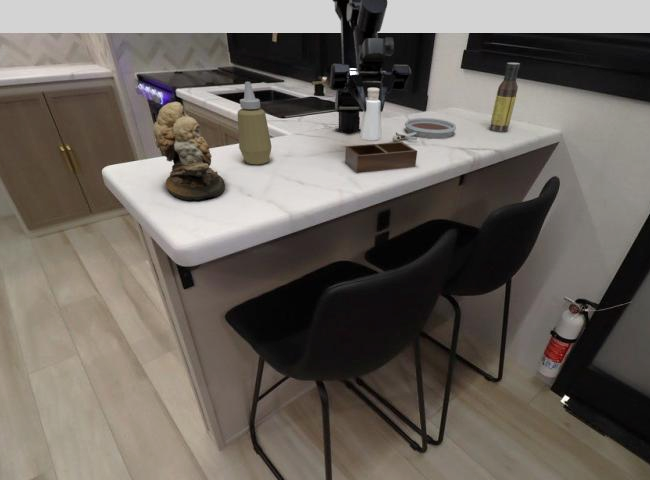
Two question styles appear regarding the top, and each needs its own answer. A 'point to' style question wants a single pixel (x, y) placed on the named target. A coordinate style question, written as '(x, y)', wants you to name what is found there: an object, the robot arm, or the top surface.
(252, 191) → the top surface
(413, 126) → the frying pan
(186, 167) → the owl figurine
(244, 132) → the squeeze bottle
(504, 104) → the sauce bottle
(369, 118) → the pepper shaker
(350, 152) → the divided wooden tray
